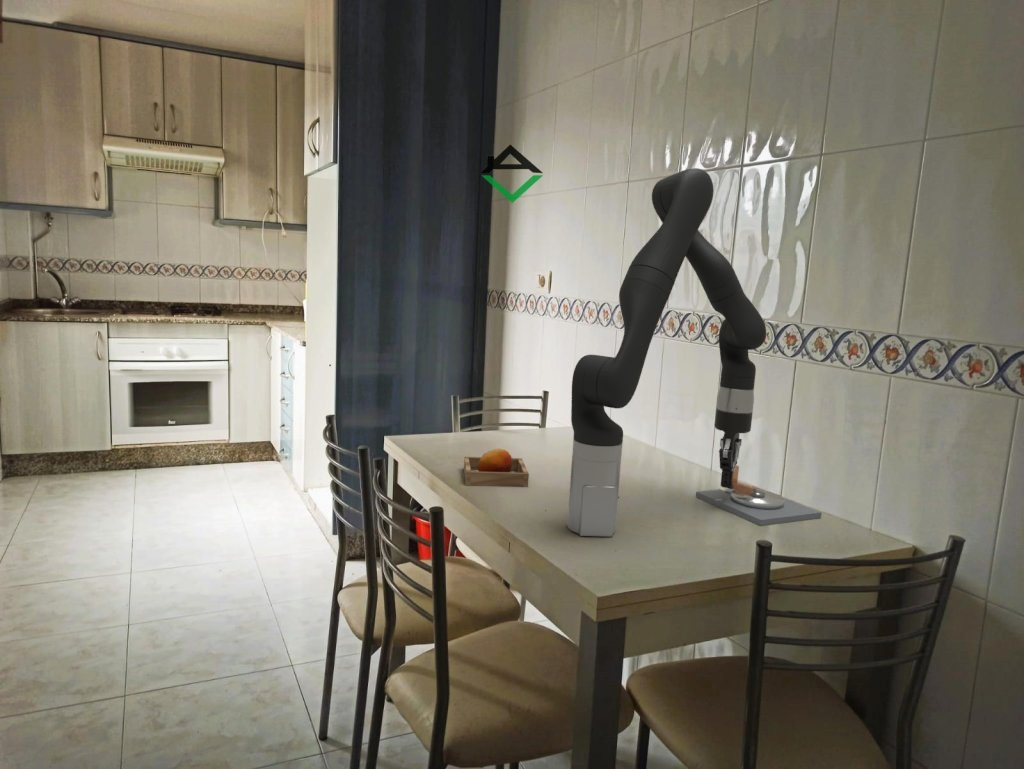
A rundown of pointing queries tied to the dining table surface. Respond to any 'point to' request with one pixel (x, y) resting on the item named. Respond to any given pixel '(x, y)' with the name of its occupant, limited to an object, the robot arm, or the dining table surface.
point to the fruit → (495, 461)
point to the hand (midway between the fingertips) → (726, 486)
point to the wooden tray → (495, 474)
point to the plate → (759, 516)
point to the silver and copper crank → (754, 495)
